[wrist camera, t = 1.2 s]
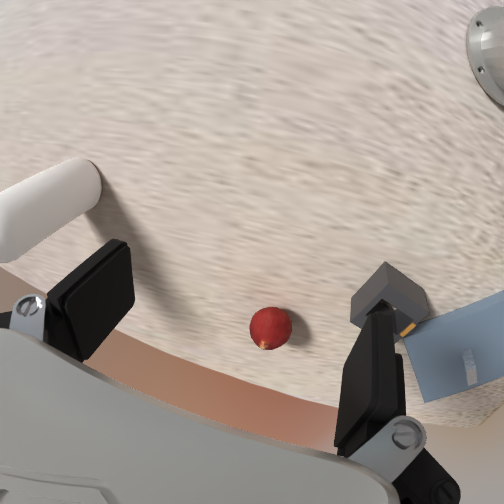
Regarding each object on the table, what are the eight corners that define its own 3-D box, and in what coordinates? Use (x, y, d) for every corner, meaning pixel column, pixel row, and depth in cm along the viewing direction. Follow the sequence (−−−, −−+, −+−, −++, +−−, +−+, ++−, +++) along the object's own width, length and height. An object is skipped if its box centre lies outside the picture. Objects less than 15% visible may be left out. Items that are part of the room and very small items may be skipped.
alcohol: (113, 191, 44) (-50, 307, 20) (85, 215, 49) (-52, 321, 24) (85, 144, 42) (-88, 234, 17) (60, 173, 46) (-85, 261, 21)
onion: (296, 327, 47) (286, 366, 41) (259, 324, 49) (244, 361, 42) (295, 296, 44) (283, 335, 38) (255, 294, 46) (238, 331, 40)
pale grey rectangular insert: (470, 348, 38) (475, 367, 35) (472, 363, 39) (477, 382, 36) (461, 351, 39) (466, 371, 35) (463, 367, 40) (467, 386, 36)
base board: (510, 287, 34) (514, 295, 32) (512, 363, 39) (514, 371, 37) (401, 329, 42) (402, 338, 40) (423, 394, 47) (424, 402, 46)
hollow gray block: (385, 261, 38) (388, 284, 34) (423, 289, 38) (429, 313, 34) (351, 297, 42) (349, 323, 38) (389, 322, 42) (391, 347, 38)
